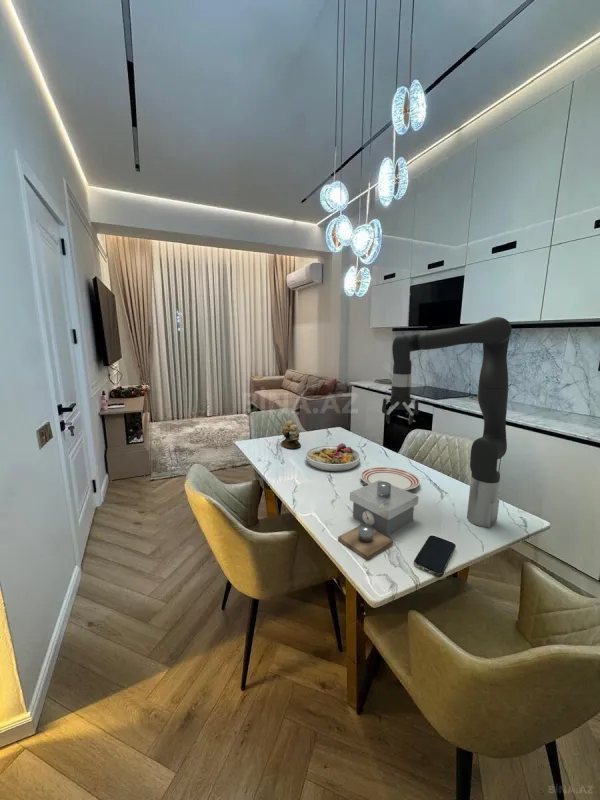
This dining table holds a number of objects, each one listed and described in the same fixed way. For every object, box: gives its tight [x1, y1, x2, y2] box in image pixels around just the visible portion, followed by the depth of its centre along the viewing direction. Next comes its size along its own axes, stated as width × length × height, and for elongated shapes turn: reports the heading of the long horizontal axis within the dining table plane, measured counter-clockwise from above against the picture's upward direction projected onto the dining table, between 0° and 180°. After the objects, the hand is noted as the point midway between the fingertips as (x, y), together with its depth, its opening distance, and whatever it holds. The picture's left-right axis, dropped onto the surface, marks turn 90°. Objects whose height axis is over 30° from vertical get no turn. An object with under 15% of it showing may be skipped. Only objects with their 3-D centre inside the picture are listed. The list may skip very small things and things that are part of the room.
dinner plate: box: [359, 466, 420, 491], centre depth 158 cm, size 27×27×3 cm
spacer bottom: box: [377, 481, 391, 497], centre depth 125 cm, size 5×5×4 cm
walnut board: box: [337, 525, 394, 561], centre depth 112 cm, size 13×13×2 cm
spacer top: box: [358, 523, 375, 543], centre depth 111 cm, size 5×5×4 cm
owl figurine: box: [280, 419, 302, 450], centre depth 210 cm, size 18×12×17 cm, turn 27°
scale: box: [352, 501, 415, 536], centre depth 126 cm, size 16×17×8 cm
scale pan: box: [349, 480, 419, 520], centre depth 126 cm, size 18×18×3 cm
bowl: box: [305, 442, 361, 472], centre depth 183 cm, size 30×30×8 cm
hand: (399, 423), depth 137 cm, fingers open, 8 cm apart
